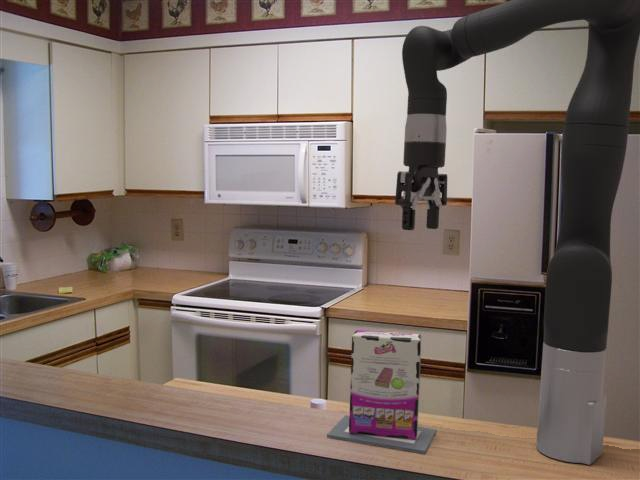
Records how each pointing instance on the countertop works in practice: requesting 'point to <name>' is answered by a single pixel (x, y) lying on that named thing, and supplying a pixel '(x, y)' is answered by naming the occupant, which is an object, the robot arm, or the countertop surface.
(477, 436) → the countertop surface
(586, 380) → the robot arm
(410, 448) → the card
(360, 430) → the candy bar box
